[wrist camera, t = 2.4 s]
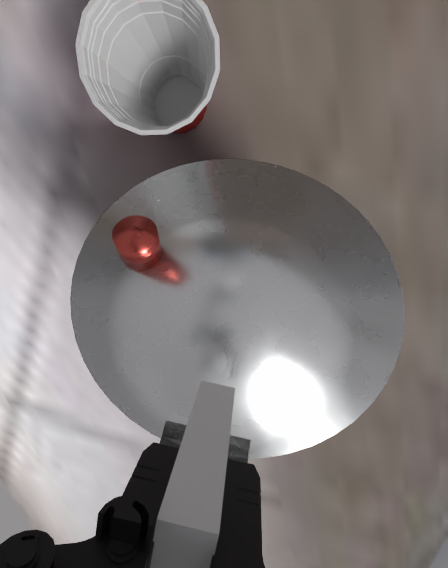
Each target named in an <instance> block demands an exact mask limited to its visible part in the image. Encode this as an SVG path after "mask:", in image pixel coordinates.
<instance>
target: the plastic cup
mask: <svg viewBox="0 0 448 568" xmlns="http://www.w3.org/2000/svg"><path fill="white" fill-rule="evenodd" d="M75 46H76V54H77V61H78V69H79V76H80V78H81V80H82V82H83V84H84V86H85V88H86V90H87V92H88V94H89V96H90V98H91V100H92V102H93V104H94V105H95V106H96V107H97V108H98V109H99V110H100V111H101V112H102V113H103V114H104V115H105V116H106V117H107V118H108V119H109V120H110V121H111V122H112V123H113V124H114V125H116V126H119V127H121V128H124V129H126V130H129V131H131V132H134V133H136V134H139V135H163V134H169V133H171V132H172V133H186V132H188V131H190V130H192V129H194V128H196V126H197V125H198V124H199V123H200V122H201V120H202V119H203V117H204V114H205V110H206V107H207V103H208V102H209V101H210V99H211V96H212V93H213V90H214V87H215V84H216V81H217V78H218V75H219V72H220V47H219V35H218V33H217V30H216V28H215V25H214V22H213V20H212V17H211V15H210V12H209V10H208V7H207V5H206V4H205V3H204V2H203V1H202V0H90V1H89V3H88V4H87V6H86V7H85V9H84V10H83V11H82V15H81V20H80V24H79V29H78V33H77V38H76V43H75Z"/></svg>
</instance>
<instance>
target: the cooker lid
mask: <svg viewBox="0 0 448 568" xmlns="http://www.w3.org/2000/svg"><path fill="white" fill-rule="evenodd" d="M70 299H71V319H72V324H73V328H74V333H75V338H76V342H77V344H78V347H79V350H80V352H81V355H82V357H83V360H84V362H85V364H86V366H87V368H88V369H89V371H90V373H91V375H92V376H93V378H94V380H95V382H96V383H97V384H98V385H99V387H100V388H101V389H102V391H103V392H104V393H105V394H106V396H107V397H108V398H109V399H110V401H111V402H112V403H113V404H114V405H116V406H117V407H118V408H119V409H120V410H121V411H122V412H123V413H124V414H125V415H126V416H127V417H128V418H130V419H131V420H132V421H134V422H135V423H137V424H138V425H140V426H141V427H143V428H144V429H145V430H147V431H148V432H150V433H151V434H153V435H155V436H157V437H159V438H161V441H160V444H162V445H167V446H171V447H175V448H180V445H181V442H182V439H183V436H184V432H185V429H186V426H187V423H188V420H189V417H190V414H191V411H192V407H193V404H194V401H195V398H196V395H197V392H198V389H199V385H200V382H201V380H202V381H206V382H211V383H215V384H219V385H224V386H228V387H233V388H235V394H234V403H233V412H232V421H231V430H230V440H229V449H228V458H227V459H231V460H235V461H240V462H244V463H247V462H248V459H259V458H266V457H273V456H280V455H286V454H289V453H292V452H296V451H299V450H302V449H305V448H309V447H312V446H314V445H316V444H318V443H320V442H322V441H324V440H326V439H328V438H330V437H332V436H334V435H335V434H337V433H338V432H340V431H341V430H343V429H344V428H345V427H347V426H348V425H350V424H351V423H353V422H354V421H355V420H356V419H357V418H358V417H359V416H360V415H361V414H362V413H363V412H364V411H365V410H366V409H367V408H368V407H369V406H370V405H371V404H372V403H373V402H374V400H375V399H376V397H377V396H378V395H379V393H380V392H381V391H382V389H383V388H384V387H385V385H386V383H387V381H388V379H389V377H390V375H391V373H392V371H393V369H394V367H395V364H396V361H397V358H398V355H399V352H400V349H401V344H402V337H403V331H404V302H403V295H402V288H401V284H400V281H399V277H398V274H397V270H396V268H395V265H394V263H393V261H392V258H391V256H390V254H389V252H388V250H387V248H386V246H385V245H384V243H383V241H382V240H381V238H380V236H379V235H378V234H377V232H376V231H375V230H374V228H373V227H372V226H371V224H370V223H369V222H368V221H367V220H366V219H365V217H364V216H363V215H362V214H361V213H360V212H359V211H358V210H357V209H356V208H355V207H354V206H352V205H351V204H350V203H349V202H348V201H347V200H346V199H344V198H343V197H342V196H340V195H339V194H338V193H336V192H335V191H333V190H332V189H330V188H329V187H327V186H325V185H324V184H322V183H320V182H318V181H317V180H315V179H313V178H311V177H308V176H306V175H304V174H302V173H299V172H297V171H294V170H291V169H288V168H285V167H282V166H279V165H274V164H270V163H266V162H260V161H253V160H244V159H214V160H206V161H199V162H193V163H189V164H185V165H181V166H177V167H174V168H171V169H169V170H166V171H163V172H161V173H158V174H156V175H154V176H152V177H150V178H148V179H146V180H144V181H143V182H141V183H139V184H138V185H136V186H134V187H133V188H131V189H130V190H129V191H127V192H126V193H125V194H124V195H122V196H121V197H120V198H118V199H117V200H116V201H115V202H114V203H113V204H112V205H111V206H110V207H109V208H108V209H107V210H106V211H105V212H104V214H103V215H102V216H101V217H100V219H99V220H98V221H97V223H96V224H95V225H94V227H93V228H92V230H91V232H90V233H89V235H88V237H87V238H86V240H85V242H84V244H83V247H82V249H81V251H80V254H79V256H78V259H77V262H76V266H75V270H74V274H73V278H72V287H71V297H70Z"/></svg>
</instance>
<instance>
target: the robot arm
mask: <svg viewBox="0 0 448 568" xmlns="http://www.w3.org/2000/svg"><path fill="white" fill-rule="evenodd" d="M234 394H235V388H233V387H228V386H224V385H219V384H215V383H211V382H206V381H202V380H201V382H200V385H199V389H198V392H197V395H196V398H195V401H194V404H193V407H192V411H191V414H190V417H189V420H188V423H187V426H186V429H185V432H184V436H183V439H182V442H181V445H180V448H175V447H171V446H167V445H162V444H158V443H152V444H151V445H150V446H149V447H148V448H147V449H146V450H144V451H143V453H142V455H141V457H140V459H139V461H138V463H137V466H136V468H135V470H134V472H133V474H132V477H131V478H130V480H129V483H128V485H127V487H126V489H125V491H124V493H123V495H122V496H120V497H117V498H114V499H112V500H111V501H109V502H108V503H106V504H105V505H104V507H103V508H102V509H101V511H100V512H99V513H98V521H97V528H96V536H94V537H93V538H90V539H88V540H86V541H82V542H78V543H70V544H61V545H55V544H54V540H53V539H52V538H51V537H50V535H49V534H48V533H46V532H43V531H39V530H30V531H23V532H21V533H18V534H16V535H13V536H11V537H10V538H8V539H7V540H6V541H4V542H3V543H2V544H0V568H265V566H264V563H263V557H262V530H261V495H260V493H261V488H260V477H259V475H258V472H257V470H256V468H255V466H254V465H253V464H248V463H244V462H240V461H235V460H231V459H227V458H228V449H229V440H230V430H231V421H232V412H233V403H234Z"/></svg>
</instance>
